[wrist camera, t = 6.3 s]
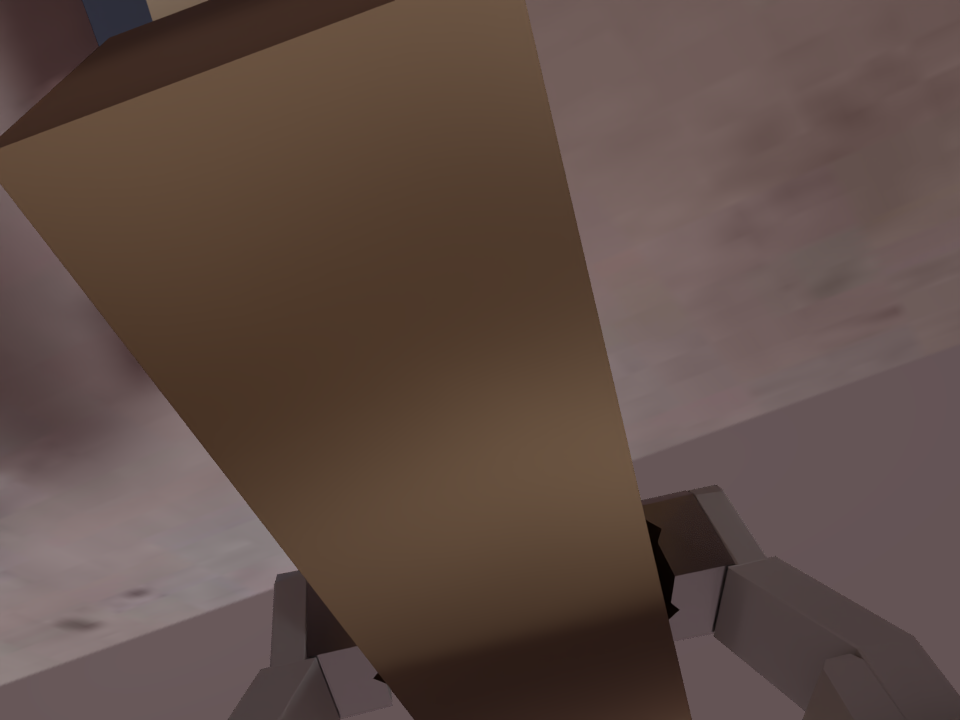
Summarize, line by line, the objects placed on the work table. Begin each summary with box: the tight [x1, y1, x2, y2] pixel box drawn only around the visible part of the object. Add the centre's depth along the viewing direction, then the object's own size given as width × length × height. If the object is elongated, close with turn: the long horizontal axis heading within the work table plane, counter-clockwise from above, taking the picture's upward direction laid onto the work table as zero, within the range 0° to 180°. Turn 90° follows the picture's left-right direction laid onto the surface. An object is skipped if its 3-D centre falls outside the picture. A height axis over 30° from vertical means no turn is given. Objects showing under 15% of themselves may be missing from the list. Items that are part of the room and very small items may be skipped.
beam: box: [0, 0, 692, 720], centre depth 12 cm, size 18×4×4 cm, turn 16°
